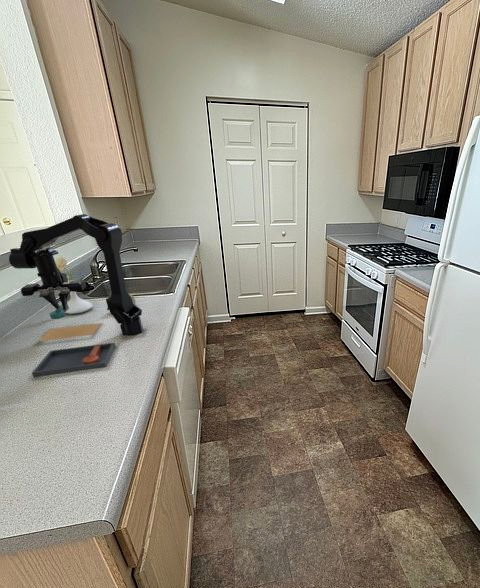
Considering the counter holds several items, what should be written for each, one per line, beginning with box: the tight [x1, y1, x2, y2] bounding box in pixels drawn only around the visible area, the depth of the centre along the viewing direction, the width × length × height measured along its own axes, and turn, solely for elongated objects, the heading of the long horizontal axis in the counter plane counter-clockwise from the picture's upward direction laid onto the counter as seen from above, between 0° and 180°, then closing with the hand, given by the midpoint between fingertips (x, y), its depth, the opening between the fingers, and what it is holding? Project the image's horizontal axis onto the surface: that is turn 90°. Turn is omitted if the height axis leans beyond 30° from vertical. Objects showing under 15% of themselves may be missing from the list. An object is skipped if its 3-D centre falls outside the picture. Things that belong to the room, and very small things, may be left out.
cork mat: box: [39, 323, 102, 342], centre depth 127 cm, size 18×14×1 cm
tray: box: [31, 342, 117, 378], centre depth 107 cm, size 20×15×2 cm
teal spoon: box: [48, 304, 69, 320], centre depth 121 cm, size 4×11×2 cm, turn 16°
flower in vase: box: [55, 255, 93, 315], centre depth 143 cm, size 13×11×25 cm
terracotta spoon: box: [82, 346, 102, 364], centre depth 107 cm, size 4×11×2 cm, turn 16°
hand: (62, 310), depth 123 cm, fingers closed on teal spoon, 2 cm apart
